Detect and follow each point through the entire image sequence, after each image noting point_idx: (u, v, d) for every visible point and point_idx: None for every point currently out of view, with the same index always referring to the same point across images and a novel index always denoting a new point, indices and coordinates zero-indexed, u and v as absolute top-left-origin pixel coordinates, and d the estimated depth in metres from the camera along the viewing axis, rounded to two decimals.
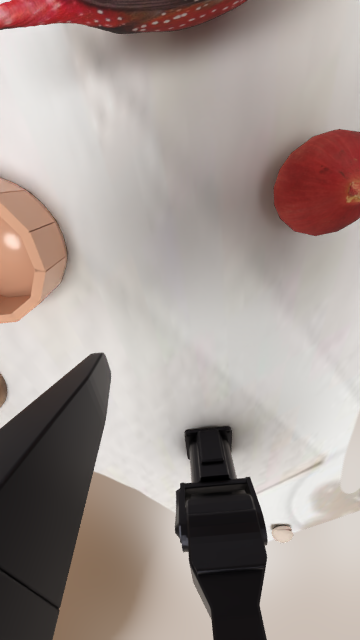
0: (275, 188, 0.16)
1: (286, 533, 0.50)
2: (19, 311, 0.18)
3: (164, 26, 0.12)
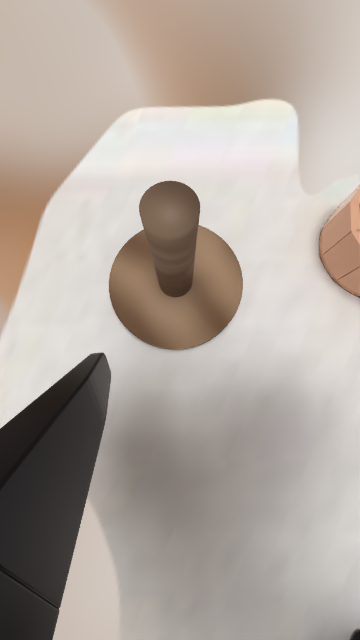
0: None
1: None
2: None
3: None
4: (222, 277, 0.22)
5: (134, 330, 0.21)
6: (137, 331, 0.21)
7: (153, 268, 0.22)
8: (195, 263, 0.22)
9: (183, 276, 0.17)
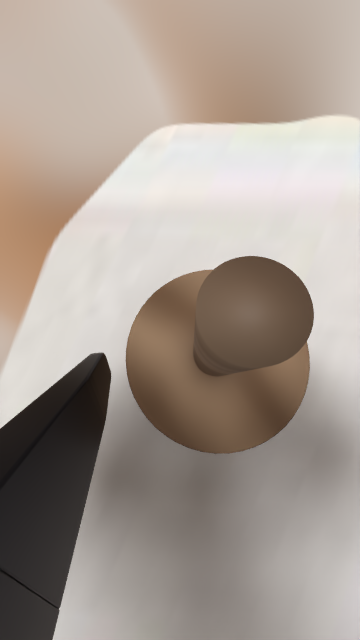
0: None
1: None
2: None
3: None
4: None
5: (157, 422, 0.15)
6: (161, 423, 0.15)
7: (186, 333, 0.16)
8: None
9: None
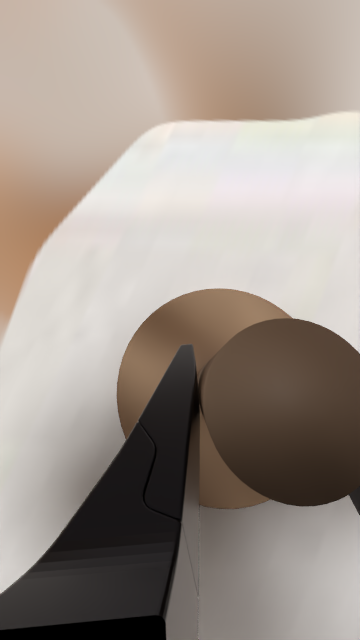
0: None
1: None
2: None
3: None
4: None
5: None
6: None
7: None
8: None
9: None
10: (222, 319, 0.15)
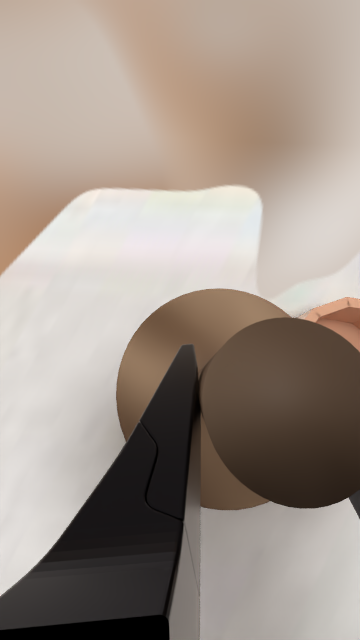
0: None
1: None
2: None
3: None
4: None
5: None
6: None
7: None
8: None
9: None
10: (222, 320, 0.15)
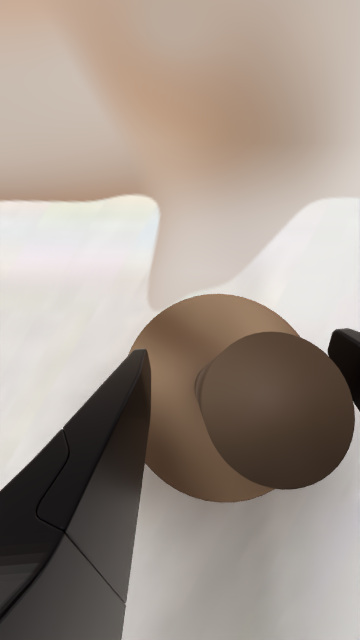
0: None
1: None
2: None
3: None
4: None
5: (156, 466, 0.14)
6: (160, 468, 0.14)
7: (186, 365, 0.15)
8: None
9: None
10: (221, 324, 0.15)
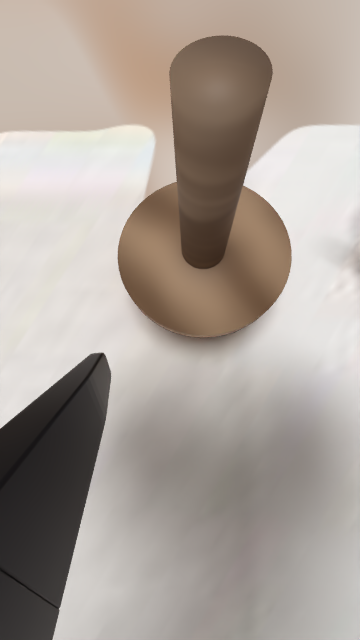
0: None
1: None
2: None
3: None
4: (263, 246, 0.17)
5: (147, 309, 0.16)
6: (151, 310, 0.16)
7: (175, 232, 0.17)
8: None
9: (220, 227, 0.12)
10: None
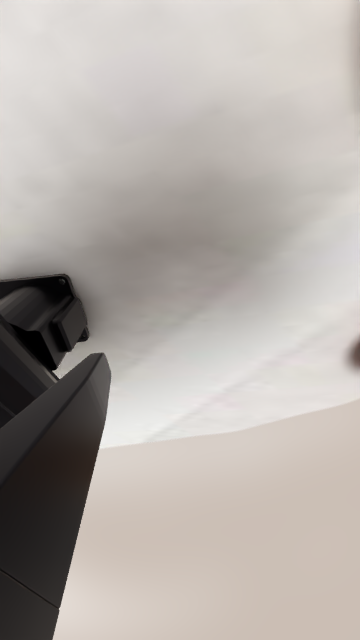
0: None
1: None
2: None
3: None
4: None
5: None
6: None
7: None
8: None
9: None
10: None
